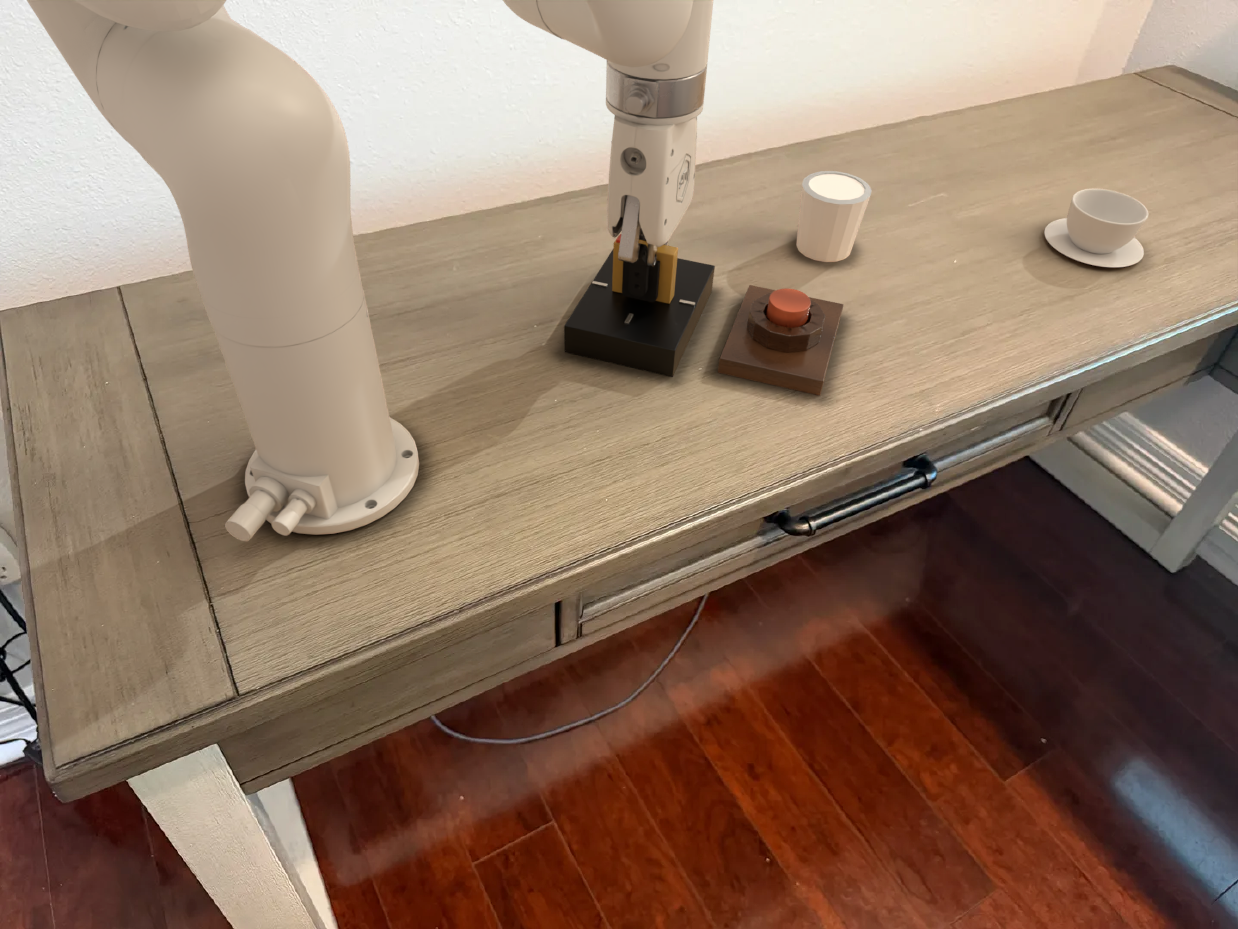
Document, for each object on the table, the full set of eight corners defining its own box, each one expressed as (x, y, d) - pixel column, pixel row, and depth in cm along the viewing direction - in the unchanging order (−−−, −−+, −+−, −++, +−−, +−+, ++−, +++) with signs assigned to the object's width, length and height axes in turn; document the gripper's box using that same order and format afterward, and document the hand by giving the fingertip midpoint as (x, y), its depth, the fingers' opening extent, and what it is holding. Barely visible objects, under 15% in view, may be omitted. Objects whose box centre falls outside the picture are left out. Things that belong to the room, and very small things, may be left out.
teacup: (1130, 282, 90) (1151, 241, 87) (1031, 250, 94) (1048, 210, 91) (1150, 240, 96) (1170, 200, 93) (1056, 212, 100) (1073, 172, 97)
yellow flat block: (674, 295, 81) (678, 244, 77) (669, 304, 80) (674, 252, 76) (616, 283, 82) (618, 232, 78) (611, 291, 81) (613, 240, 77)
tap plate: (672, 378, 77) (675, 348, 75) (564, 353, 79) (563, 324, 77) (711, 292, 87) (715, 263, 84) (614, 271, 89) (615, 243, 86)
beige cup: (780, 254, 92) (792, 191, 87) (803, 224, 96) (815, 163, 91) (845, 273, 90) (860, 209, 85) (864, 242, 94) (880, 180, 89)
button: (803, 332, 77) (807, 315, 76) (762, 323, 78) (765, 306, 77) (810, 309, 80) (814, 292, 78) (770, 301, 80) (773, 284, 79)
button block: (819, 396, 76) (827, 364, 73) (717, 373, 78) (721, 341, 75) (840, 318, 84) (848, 287, 82) (747, 299, 86) (751, 267, 83)
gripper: (673, 136, 61) (657, 349, 74) (729, 56, 72) (706, 255, 85) (571, 118, 63) (573, 330, 76) (641, 42, 74) (632, 240, 87)
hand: (643, 289), depth 80 cm, fingers closed
